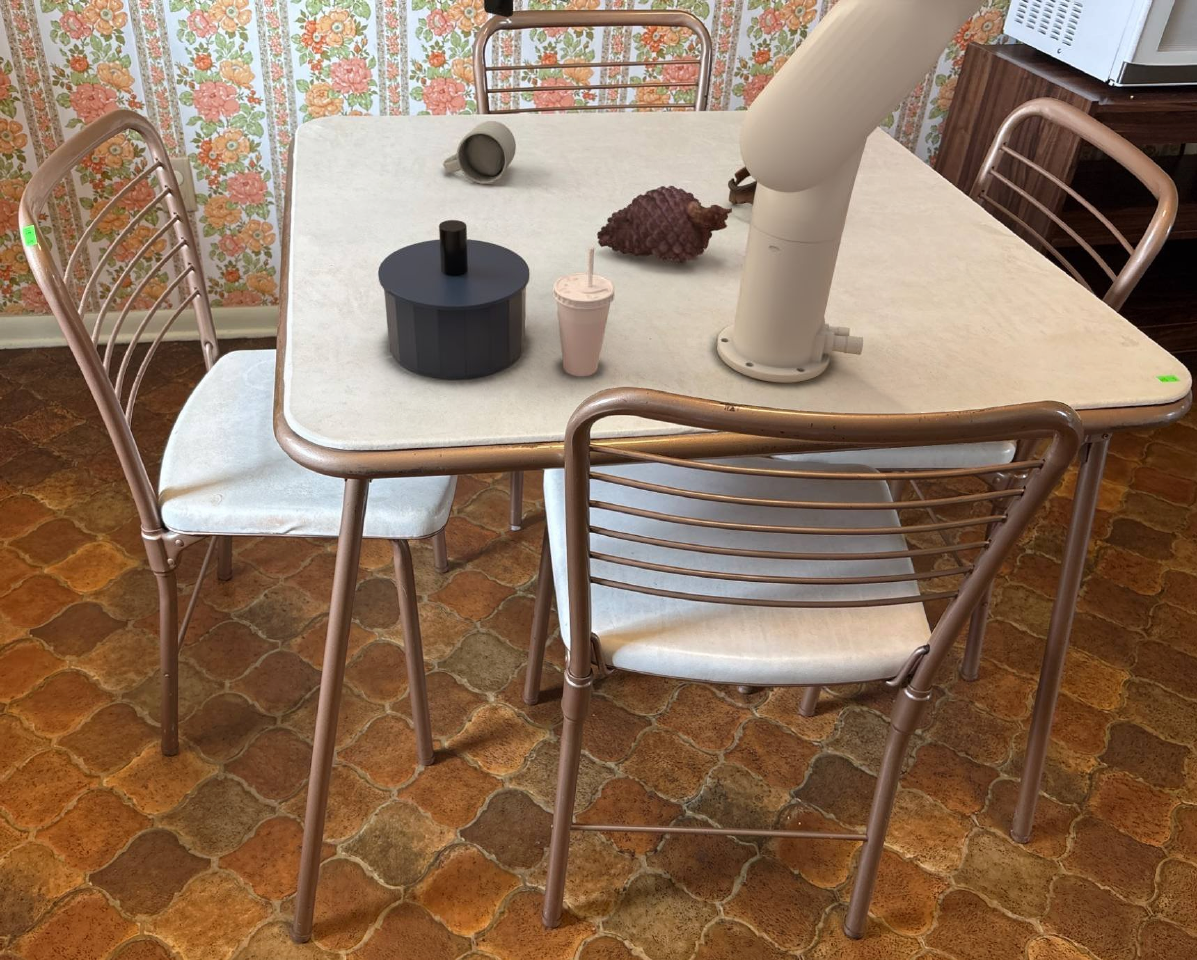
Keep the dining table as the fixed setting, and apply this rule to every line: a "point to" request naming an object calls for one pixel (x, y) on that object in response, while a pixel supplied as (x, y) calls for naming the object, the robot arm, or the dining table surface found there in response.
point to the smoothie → (582, 317)
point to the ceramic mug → (484, 153)
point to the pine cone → (663, 225)
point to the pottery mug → (741, 188)
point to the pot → (456, 338)
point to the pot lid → (453, 272)
